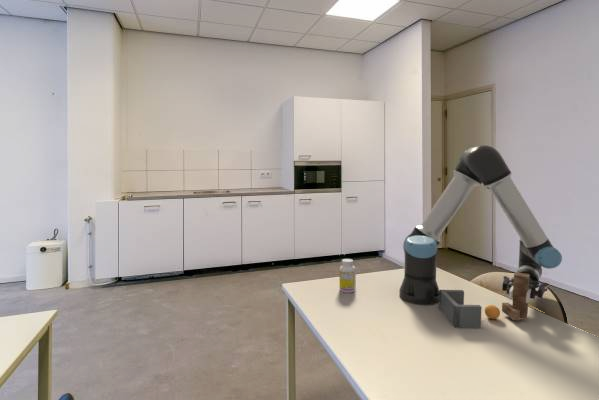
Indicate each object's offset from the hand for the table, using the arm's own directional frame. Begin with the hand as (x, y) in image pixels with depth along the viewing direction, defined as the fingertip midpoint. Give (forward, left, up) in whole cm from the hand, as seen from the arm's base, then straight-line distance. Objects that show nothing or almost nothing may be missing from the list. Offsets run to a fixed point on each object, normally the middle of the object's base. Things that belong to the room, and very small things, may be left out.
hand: (518, 297), depth 111 cm
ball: (-5, -6, -7) cm, 10 cm away
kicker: (-4, +1, -8) cm, 9 cm away
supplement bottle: (-29, -52, -9) cm, 61 cm away
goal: (-5, -17, -9) cm, 20 cm away
